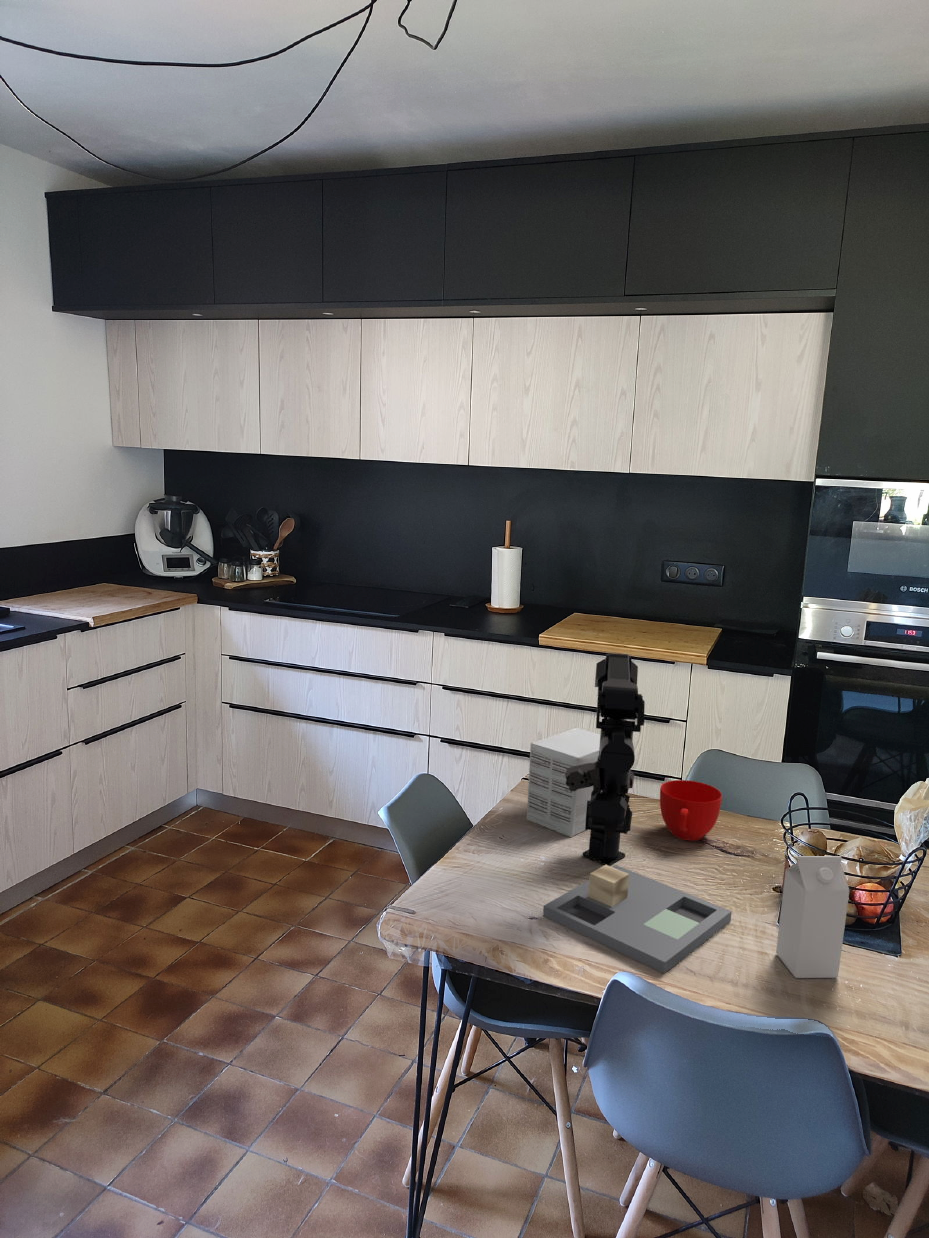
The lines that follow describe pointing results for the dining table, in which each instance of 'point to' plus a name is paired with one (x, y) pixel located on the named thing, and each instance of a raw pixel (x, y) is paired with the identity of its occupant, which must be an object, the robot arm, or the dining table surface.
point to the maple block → (608, 885)
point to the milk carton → (813, 917)
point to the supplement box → (560, 780)
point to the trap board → (642, 920)
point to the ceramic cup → (689, 808)
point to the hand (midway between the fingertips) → (608, 836)
